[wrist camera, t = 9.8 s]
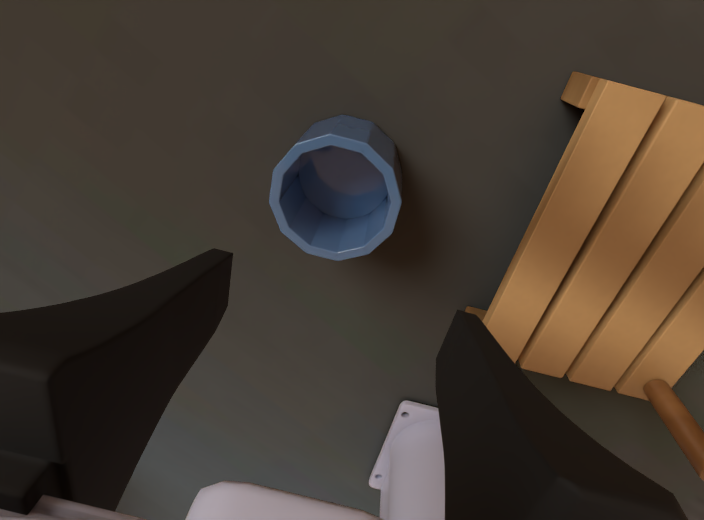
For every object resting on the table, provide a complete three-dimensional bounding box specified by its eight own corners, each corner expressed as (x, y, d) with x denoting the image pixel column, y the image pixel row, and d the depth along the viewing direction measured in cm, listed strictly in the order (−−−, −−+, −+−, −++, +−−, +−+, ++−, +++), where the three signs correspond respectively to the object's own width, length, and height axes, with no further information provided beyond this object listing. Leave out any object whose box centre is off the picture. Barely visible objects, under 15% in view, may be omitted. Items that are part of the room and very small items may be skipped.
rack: (637, 366, 25) (725, 494, 18) (459, 321, 25) (481, 433, 18) (814, 134, 19) (1059, 200, 12) (572, 70, 18) (675, 98, 11)
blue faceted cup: (384, 233, 23) (380, 272, 19) (285, 207, 23) (262, 242, 19) (414, 132, 20) (416, 155, 17) (302, 103, 20) (279, 120, 17)
